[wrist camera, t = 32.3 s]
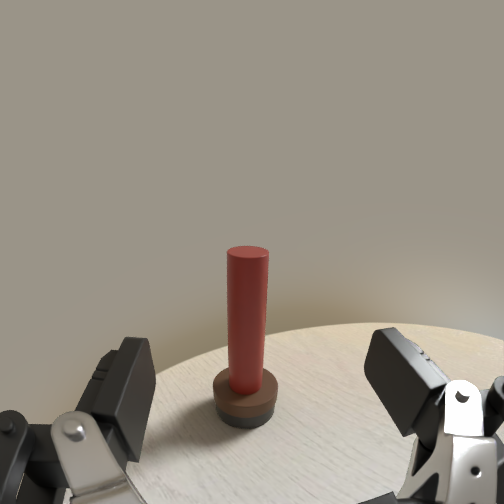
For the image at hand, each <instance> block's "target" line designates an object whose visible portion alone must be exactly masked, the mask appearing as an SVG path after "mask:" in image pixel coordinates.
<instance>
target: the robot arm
mask: <svg viewBox="0 0 504 504" xmlns="http://www.w3.org/2000/svg"><path fill="white" fill-rule="evenodd" d="M364 372H365V376H366V378H367V380H368V381H369V383H370V384H371V386H372V387H373V389H374V391H375V392H376V394H377V395H378V397H379V399H380V400H381V402H382V403H383V405H384V407H385V408H386V410H387V411H388V413H389V415H390V416H391V418H392V420H393V421H394V423H395V424H396V426H397V428H398V429H399V431H400V433H401V434H402V436H403V437H405V436H408V435H411V434H413V433H416V435H417V437H416V439H415V441H414V444H413V449H412V454H411V459H410V463H409V467H408V471H407V475H406V479H405V482H404V484H403V486H402V488H401V490H400V491H399V493H398V494H397V496H396V497H395V495H394V493H393V491H392V492H390V493H387V494H385V495H382V496H379V497H376V498H374V499H371V500H368V501H365V502H361V503H358V504H496V503H497V504H504V444H503V443H502V441H501V440H500V439H499V437H498V436H497V434H496V433H495V432H496V431H497V429H498V428H499V427H500V426H501V424H502V423H503V421H504V376H500V377H497V378H496V379H495V381H494V383H493V384H492V386H491V388H490V389H486V390H477V388H476V387H475V386H473V385H472V384H470V383H468V382H466V381H460V380H459V381H453V382H452V381H451V380H450V379H449V378H448V377H447V376H446V375H445V374H444V373H443V371H442V370H441V369H440V368H439V367H438V366H437V365H436V364H435V363H434V362H433V361H432V360H430V358H429V357H428V356H427V355H426V354H424V351H423V350H422V349H421V348H420V347H419V346H418V345H417V344H415V343H413V342H412V341H410V340H408V339H406V338H405V337H404V336H403V335H402V334H401V333H400V332H399V331H398V330H397V329H396V328H394V327H392V328H386V329H379V330H375V331H374V333H373V335H372V339H371V342H370V346H369V349H368V353H367V356H366V360H365V363H364ZM155 386H156V376H155V370H154V365H153V361H152V356H151V351H150V345H149V341H148V339H147V338H136V337H125V338H124V340H123V342H122V344H121V346H120V348H119V350H111V351H110V352H108V353H107V354H106V355H105V356H103V357H102V358H101V360H100V362H99V364H98V366H97V367H96V371H94V373H93V375H92V379H90V381H89V383H88V385H87V387H86V389H85V391H84V393H83V395H82V397H81V399H80V401H79V403H78V405H77V407H76V409H75V411H70V412H66V413H64V414H62V415H60V416H59V417H57V419H56V420H55V421H54V422H53V424H50V425H47V424H46V425H45V424H43V425H42V424H28V422H27V421H26V419H25V418H24V416H23V415H22V414H20V413H19V412H17V411H14V410H7V411H3V412H1V413H0V504H63V500H64V495H65V491H66V488H70V489H71V491H72V494H73V497H70V504H147V503H146V501H145V500H144V498H143V497H142V496H141V494H140V493H139V491H138V490H137V488H136V487H135V485H134V484H133V482H132V481H131V479H130V478H129V476H128V475H127V473H126V471H125V470H126V465H127V461H132V462H138V463H139V459H140V454H141V449H142V444H143V439H144V435H145V430H146V425H147V421H148V417H149V412H150V408H151V404H152V400H153V395H154V391H155ZM23 473H24V476H23ZM22 476H23V479H22ZM21 479H22V483H21V486H20V489H19V485H20V482H21ZM18 489H19V492H18V495H17V491H18ZM16 495H17V499H16Z"/></svg>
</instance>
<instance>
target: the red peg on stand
mask: <svg viewBox="0 0 504 504" xmlns="http://www.w3.org/2000/svg"><path fill="white" fill-rule="evenodd" d="M268 261H269V252H268V250H266V249H264V248H260V247H254V246H238V247H233V248H230V249H229V250H228V251H227V313H228V314H227V315H228V362H229V368H226V369H224V370H223V371H221V372H220V373H219V374H218V375H217V376H216V377H215V379H214V382H213V393H214V400H215V403H216V411H217V414H218V416H219V417H220V418H221V419H222V420H223V421H224V422H225V423H227V424H228V425H231V426H233V427H237V428H254V427H258V426H261V425H263V424H264V423H266V422H267V421H268V420H269V419H270V418H271V417H272V415H273V413H274V407H275V403H276V399H277V392H278V383H277V380H276V378H275V377H274V375H273V374H272V373H270V372H269V371H268V370H266V369H264V368H263V358H264V341H265V323H266V303H267V283H268Z"/></svg>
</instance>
